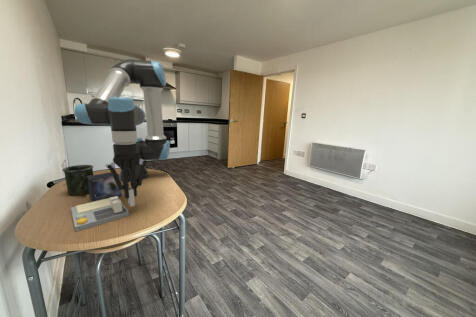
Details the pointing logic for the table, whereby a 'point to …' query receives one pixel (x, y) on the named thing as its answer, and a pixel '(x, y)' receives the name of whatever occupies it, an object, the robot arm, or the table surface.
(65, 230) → the table surface
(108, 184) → the small box
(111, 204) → the toggle
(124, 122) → the robot arm
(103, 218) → the breaker panel
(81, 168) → the mug
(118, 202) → the toggle
